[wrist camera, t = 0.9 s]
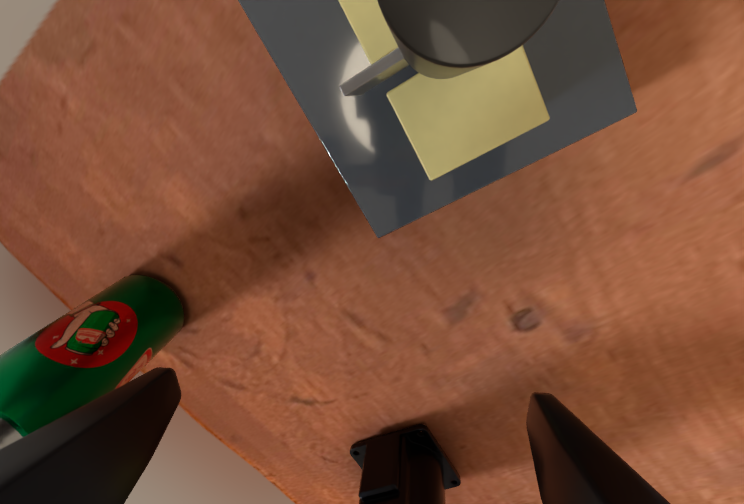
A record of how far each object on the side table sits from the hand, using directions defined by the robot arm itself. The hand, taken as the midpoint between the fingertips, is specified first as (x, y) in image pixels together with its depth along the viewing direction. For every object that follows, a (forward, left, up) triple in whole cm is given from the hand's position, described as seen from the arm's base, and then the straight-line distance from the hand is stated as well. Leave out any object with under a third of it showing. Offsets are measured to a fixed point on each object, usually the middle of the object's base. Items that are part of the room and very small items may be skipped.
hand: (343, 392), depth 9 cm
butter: (+6, -6, -10) cm, 13 cm away
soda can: (+2, +17, -13) cm, 22 cm away
